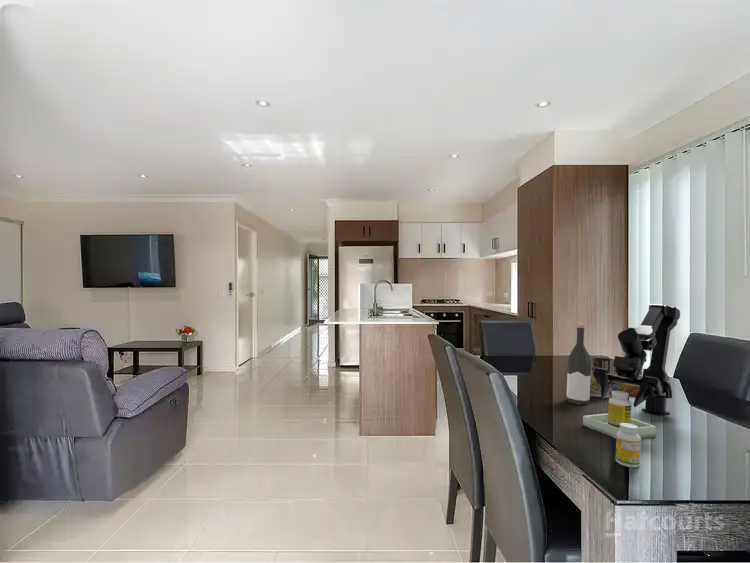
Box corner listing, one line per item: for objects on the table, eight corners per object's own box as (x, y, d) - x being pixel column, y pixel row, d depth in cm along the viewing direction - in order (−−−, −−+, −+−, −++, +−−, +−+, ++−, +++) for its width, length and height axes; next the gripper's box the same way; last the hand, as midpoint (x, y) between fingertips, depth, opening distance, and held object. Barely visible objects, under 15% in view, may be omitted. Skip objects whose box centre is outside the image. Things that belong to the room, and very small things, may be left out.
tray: (614, 421, 142) (615, 412, 142) (655, 436, 129) (656, 426, 129) (582, 425, 137) (583, 415, 137) (622, 441, 124) (622, 430, 124)
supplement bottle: (637, 470, 105) (639, 430, 105) (613, 463, 108) (614, 425, 108) (641, 463, 109) (643, 425, 109) (617, 457, 112) (619, 420, 112)
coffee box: (606, 394, 178) (608, 355, 178) (609, 398, 172) (611, 358, 172) (582, 392, 181) (583, 353, 181) (584, 395, 175) (586, 356, 175)
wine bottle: (590, 401, 167) (593, 324, 167) (588, 406, 160) (591, 325, 160) (568, 397, 171) (571, 322, 171) (564, 402, 164) (567, 323, 164)
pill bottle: (628, 432, 129) (629, 396, 129) (605, 427, 133) (606, 392, 133) (632, 427, 134) (633, 392, 134) (610, 423, 138) (611, 388, 138)
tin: (610, 392, 182) (610, 372, 182) (609, 391, 185) (609, 371, 185) (651, 397, 177) (652, 377, 177) (649, 395, 180) (650, 375, 180)
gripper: (596, 343, 143) (579, 380, 136) (660, 351, 129) (646, 393, 122) (605, 364, 148) (589, 401, 141) (668, 374, 134) (654, 416, 127)
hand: (617, 402), depth 133 cm, fingers open, 9 cm apart
